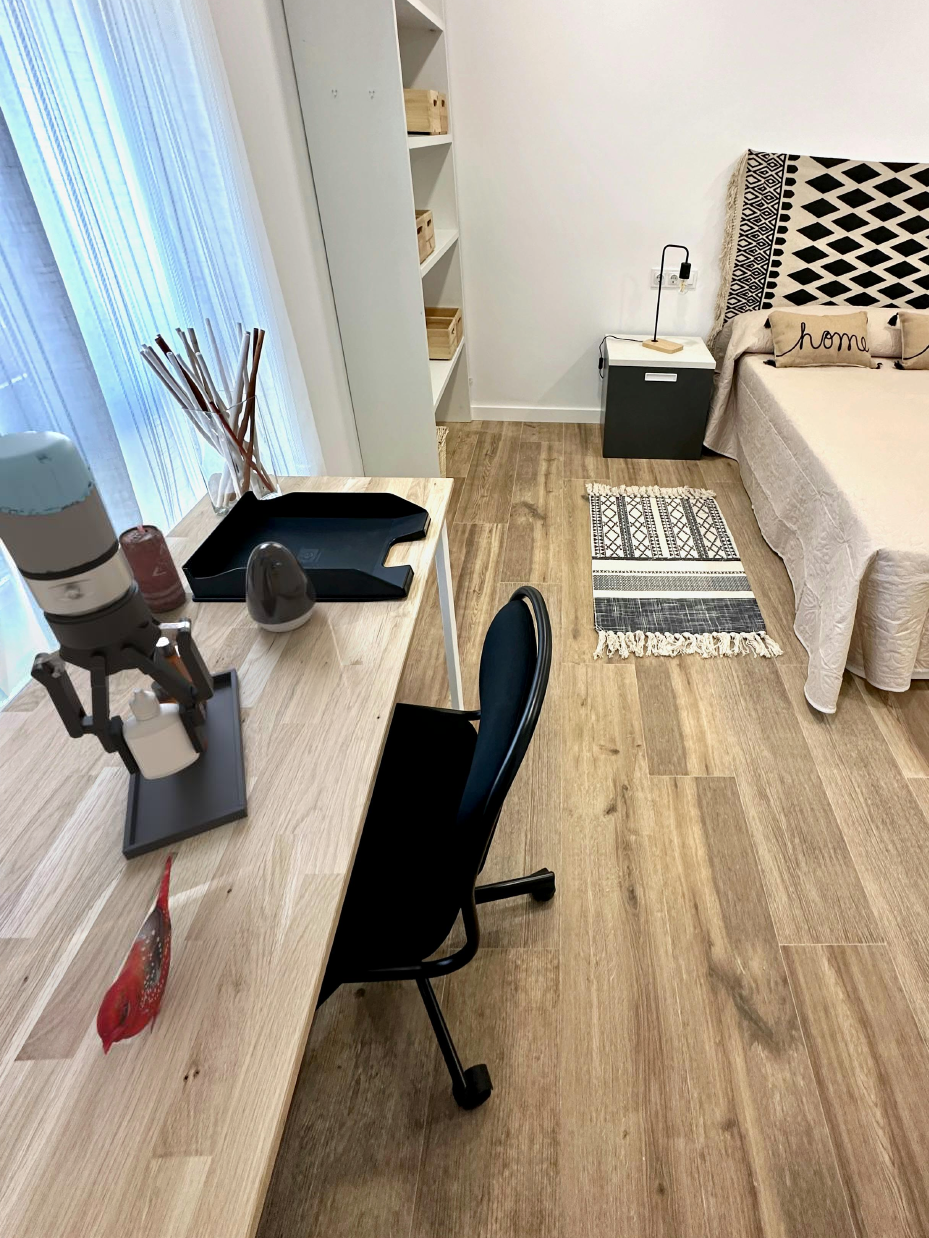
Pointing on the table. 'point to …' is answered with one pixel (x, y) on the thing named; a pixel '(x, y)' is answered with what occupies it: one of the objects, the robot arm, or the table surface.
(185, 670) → the amber bottle
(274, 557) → the dark grey rounded cone
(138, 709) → the eye dropper bottle
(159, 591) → the can
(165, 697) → the amber bottle
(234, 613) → the table surface
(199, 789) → the tray
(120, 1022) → the decorative bird figurine
